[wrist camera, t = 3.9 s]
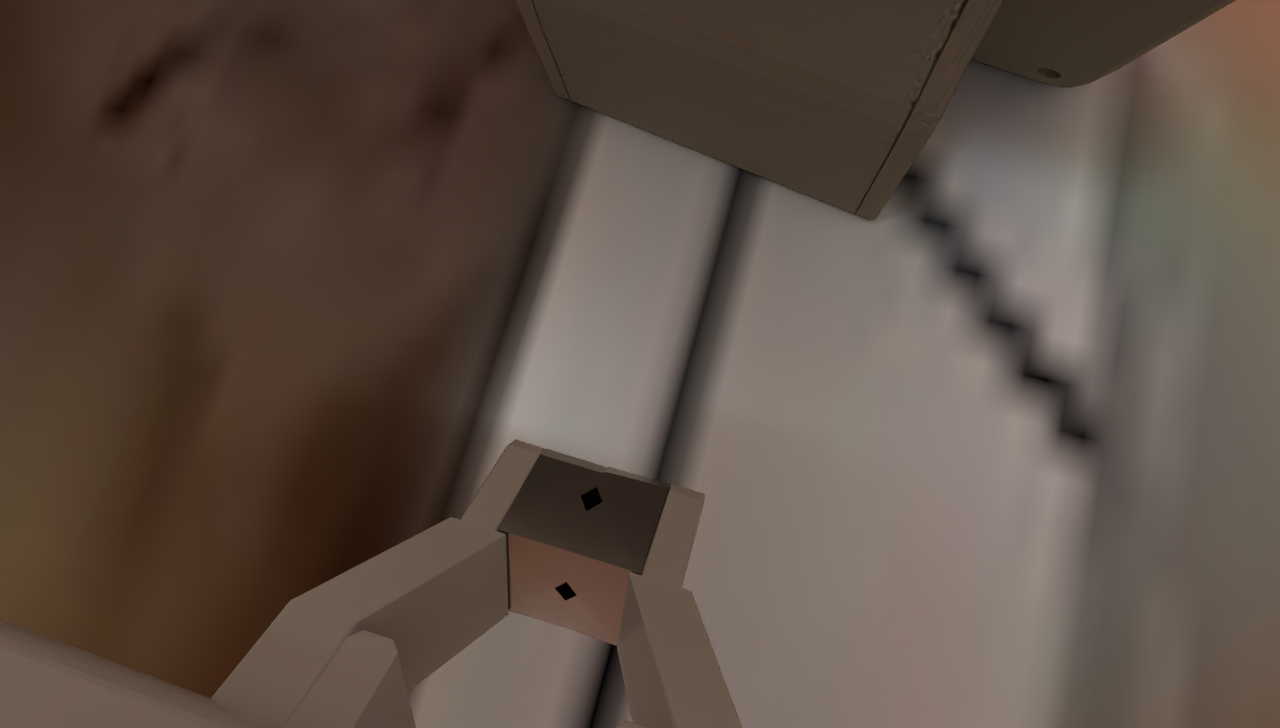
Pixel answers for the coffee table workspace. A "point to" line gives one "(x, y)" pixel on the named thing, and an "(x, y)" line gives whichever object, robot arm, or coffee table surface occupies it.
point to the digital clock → (826, 72)
